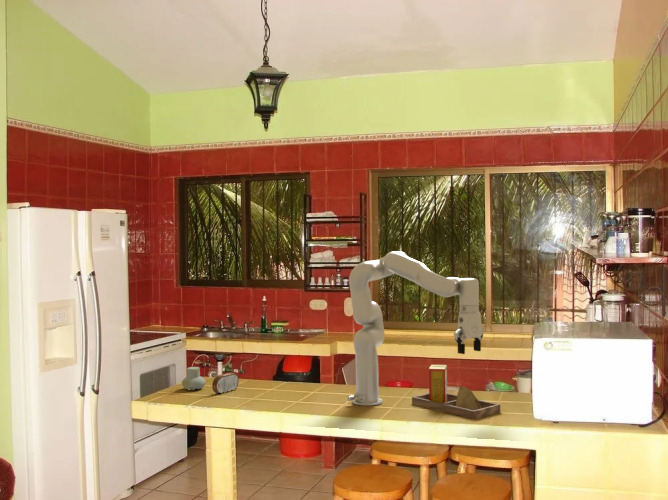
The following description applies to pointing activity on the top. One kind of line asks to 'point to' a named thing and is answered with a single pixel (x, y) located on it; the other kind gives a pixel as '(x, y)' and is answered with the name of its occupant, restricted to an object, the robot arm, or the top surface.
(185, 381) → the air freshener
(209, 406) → the top surface
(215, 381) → the tin
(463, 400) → the rock
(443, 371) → the baking soda box
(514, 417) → the top surface
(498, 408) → the divided brown tray
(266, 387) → the top surface
